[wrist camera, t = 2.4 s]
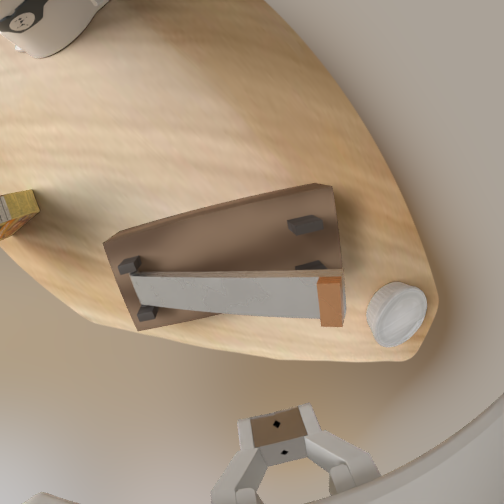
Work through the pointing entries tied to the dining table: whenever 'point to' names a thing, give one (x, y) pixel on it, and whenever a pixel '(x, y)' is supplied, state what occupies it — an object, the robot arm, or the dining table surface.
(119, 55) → the dining table surface
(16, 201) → the candy box
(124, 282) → the base
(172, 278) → the clamp bar
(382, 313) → the ramekin
